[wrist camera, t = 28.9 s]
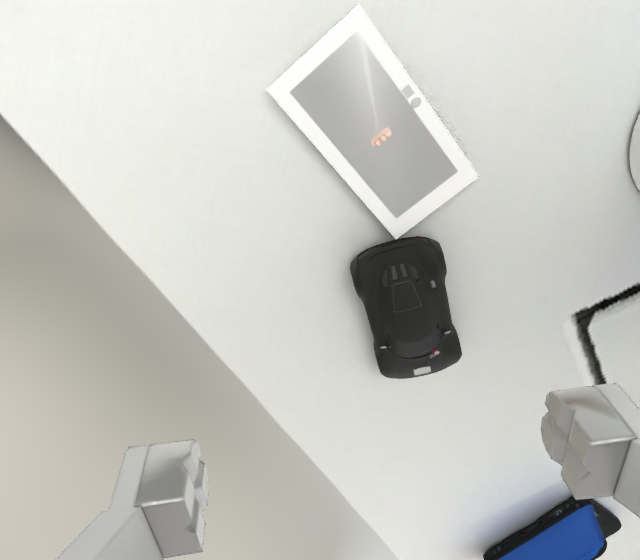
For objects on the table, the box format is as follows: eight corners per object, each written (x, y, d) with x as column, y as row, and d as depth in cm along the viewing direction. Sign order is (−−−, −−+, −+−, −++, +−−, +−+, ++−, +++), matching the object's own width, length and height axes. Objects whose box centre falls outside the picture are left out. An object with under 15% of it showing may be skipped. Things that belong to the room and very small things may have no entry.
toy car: (383, 378, 50) (389, 411, 46) (343, 245, 42) (347, 272, 39) (459, 360, 49) (472, 392, 45) (433, 221, 42) (446, 247, 38)
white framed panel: (392, 233, 42) (399, 245, 40) (266, 86, 35) (266, 92, 34) (474, 171, 40) (485, 181, 38) (356, 2, 33) (361, 4, 31)
